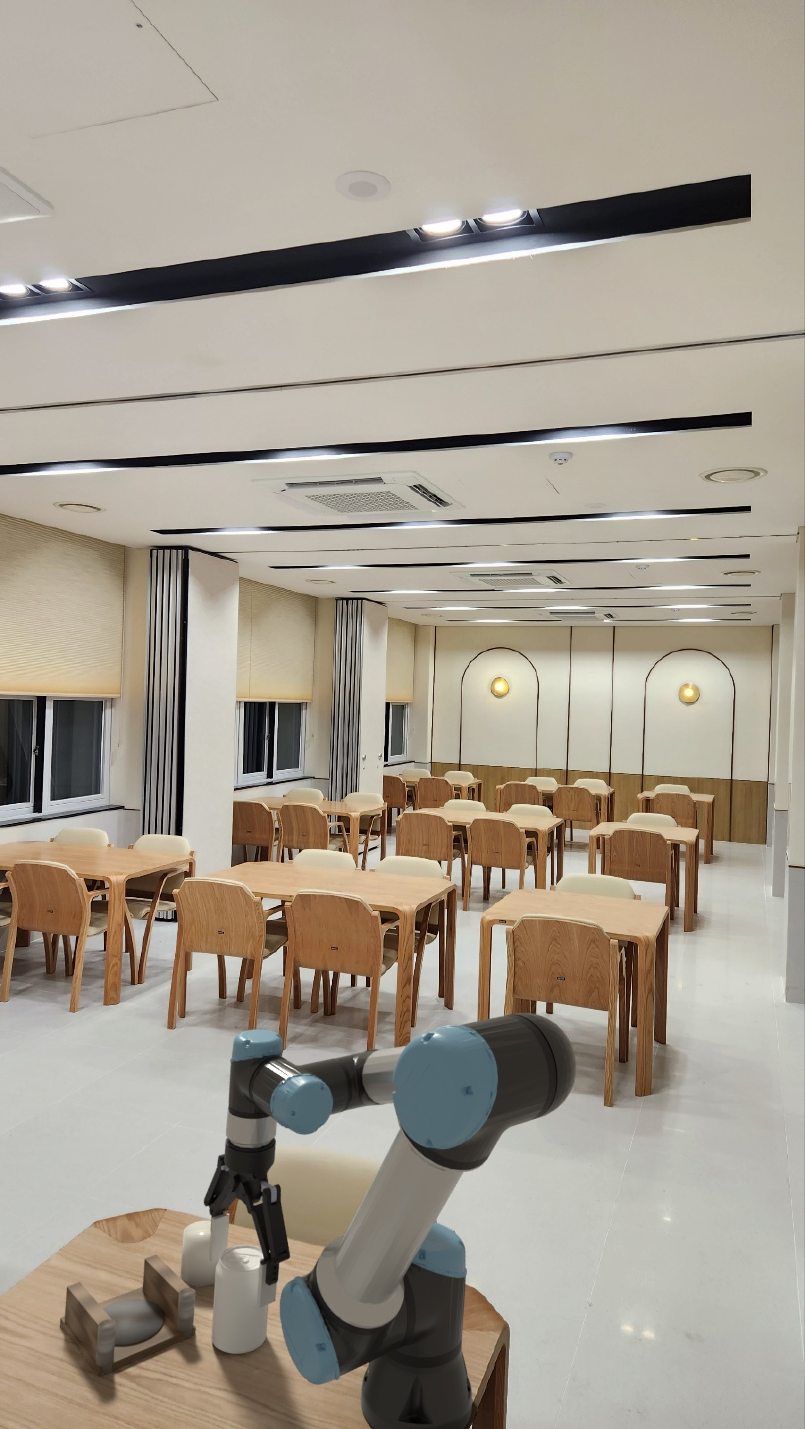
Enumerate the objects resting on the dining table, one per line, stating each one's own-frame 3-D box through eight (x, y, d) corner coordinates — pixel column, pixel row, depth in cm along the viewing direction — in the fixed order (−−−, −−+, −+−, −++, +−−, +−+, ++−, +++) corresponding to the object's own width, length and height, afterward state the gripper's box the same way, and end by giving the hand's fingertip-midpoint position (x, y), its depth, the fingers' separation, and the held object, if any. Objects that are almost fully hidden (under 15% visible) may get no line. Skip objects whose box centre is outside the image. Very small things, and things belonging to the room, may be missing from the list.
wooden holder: (195, 1334, 135) (198, 1293, 135) (99, 1376, 125) (102, 1332, 125) (152, 1288, 146) (154, 1251, 146) (59, 1324, 136) (62, 1283, 136)
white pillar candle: (231, 1276, 150) (234, 1233, 151) (193, 1291, 146) (196, 1247, 146) (209, 1257, 155) (212, 1216, 156) (173, 1271, 151) (175, 1228, 151)
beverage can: (254, 1362, 130) (259, 1277, 130) (202, 1351, 131) (207, 1267, 132) (273, 1327, 138) (278, 1247, 138) (224, 1318, 139) (228, 1239, 140)
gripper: (320, 1163, 129) (310, 1313, 128) (229, 1102, 147) (220, 1234, 147) (276, 1177, 124) (266, 1334, 123) (188, 1113, 142) (178, 1249, 142)
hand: (241, 1280), depth 135 cm, fingers open, 13 cm apart
